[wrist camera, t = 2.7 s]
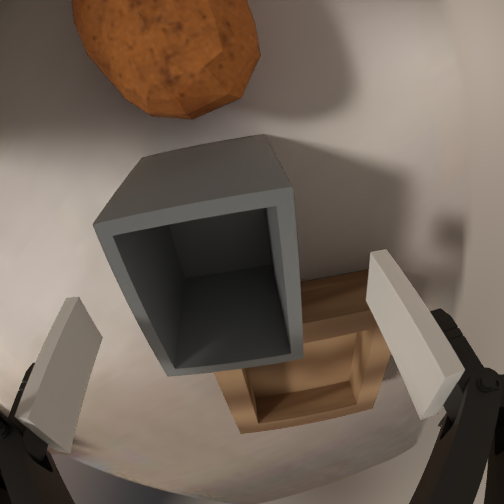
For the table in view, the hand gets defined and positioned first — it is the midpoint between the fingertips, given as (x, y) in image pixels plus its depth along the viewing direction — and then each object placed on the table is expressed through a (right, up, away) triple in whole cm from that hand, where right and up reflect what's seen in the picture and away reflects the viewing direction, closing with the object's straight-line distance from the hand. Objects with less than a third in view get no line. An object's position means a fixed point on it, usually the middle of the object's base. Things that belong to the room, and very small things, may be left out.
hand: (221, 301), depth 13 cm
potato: (-3, +15, -1) cm, 15 cm away
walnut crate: (+5, -6, +14) cm, 16 cm away
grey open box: (-1, +4, +6) cm, 7 cm away
